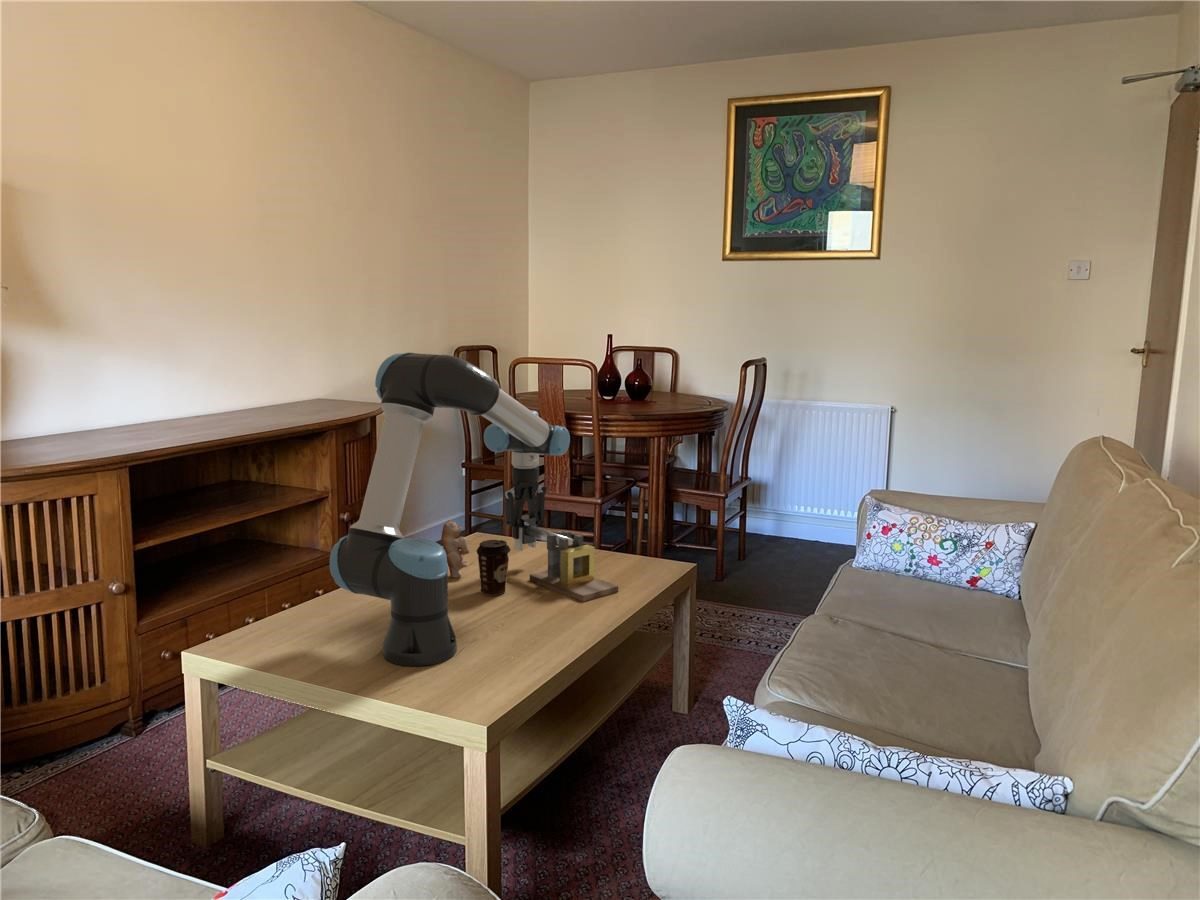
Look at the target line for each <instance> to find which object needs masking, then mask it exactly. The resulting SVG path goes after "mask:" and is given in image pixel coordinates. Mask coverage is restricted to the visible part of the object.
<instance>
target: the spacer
mask: <svg viewBox="0 0 1200 900" xmlns="http://www.w3.org/2000/svg"><path fill="white" fill-rule="evenodd" d="M595 549H596V548H595V546H593V545H590V544H583V546H578V547H574V548H569V549H565V550H561V584H562V585H564V586H567V587H569V586H573V585H577V584H581V583H584V582H588V581H592V580H594V577H595V555H596V553H595ZM581 556H582V572H580V573H576V574H573V558H577V557H581Z"/></svg>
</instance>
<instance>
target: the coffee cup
mask: <svg viewBox="0 0 1200 900" xmlns="http://www.w3.org/2000/svg"><path fill="white" fill-rule="evenodd" d="M510 552H511V548H510V546H509V544H508V543H507V541H506V540H502V539H500V540H498V539H488V540H487V539H486V540H483V541H481V542H480V543H479V546H478V547H477V549H476V553H477V555H478V556H477V559H478V571H479V582H480V593H481V594H482V595H485V596H491V597H492V596H498V595H502V594H504V593H506V587H507V586H506V585H507V580H508V579H507V578H508V569H509V563H510V561H509V555H508V554H509V553H510Z"/></svg>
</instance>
